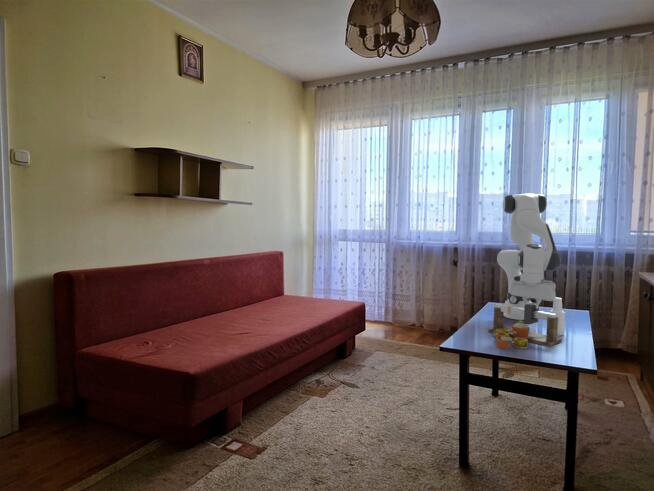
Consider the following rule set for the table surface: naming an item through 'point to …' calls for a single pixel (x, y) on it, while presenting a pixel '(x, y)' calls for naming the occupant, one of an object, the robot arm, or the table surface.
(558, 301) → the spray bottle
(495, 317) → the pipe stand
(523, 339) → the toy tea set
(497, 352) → the table surface
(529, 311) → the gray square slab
